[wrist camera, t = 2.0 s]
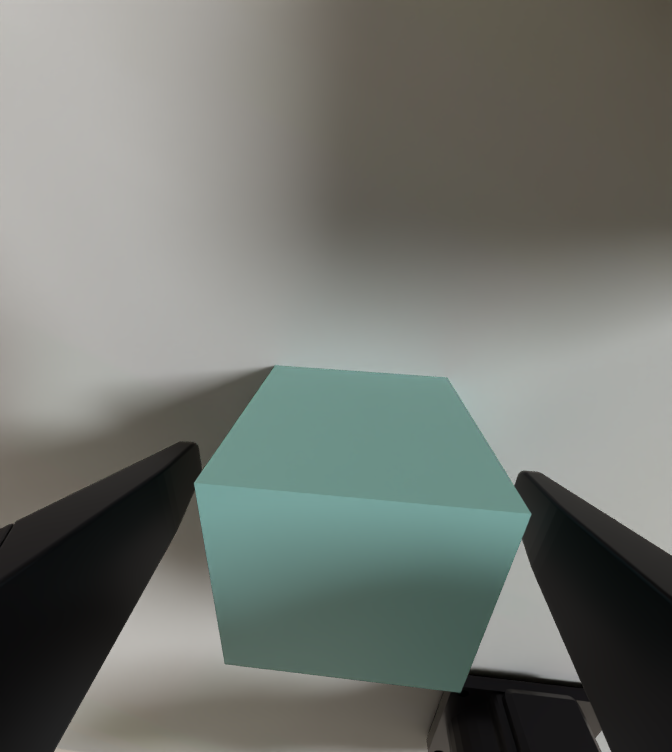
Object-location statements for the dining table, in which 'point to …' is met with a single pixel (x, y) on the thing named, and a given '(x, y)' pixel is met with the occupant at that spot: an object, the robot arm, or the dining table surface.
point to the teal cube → (357, 529)
